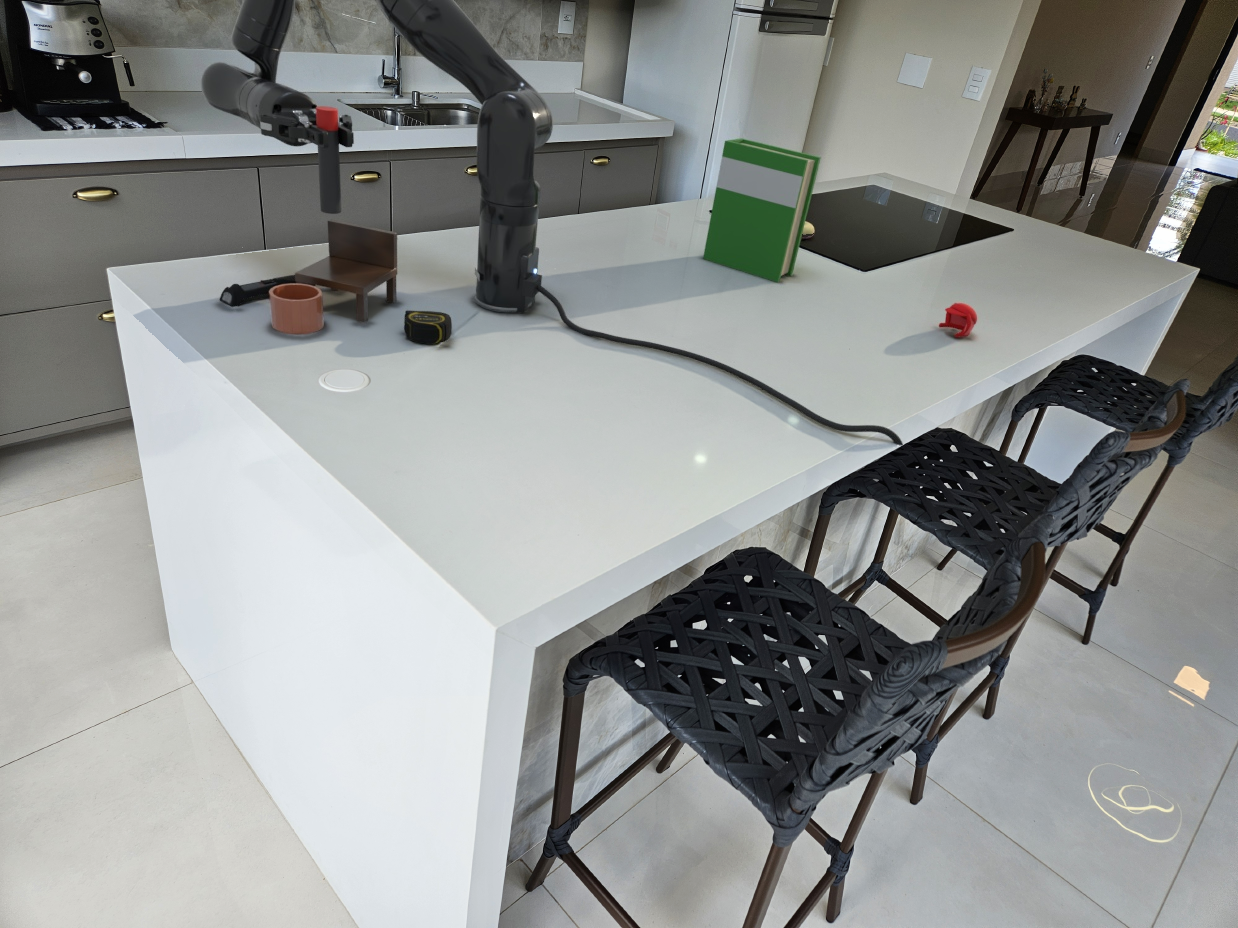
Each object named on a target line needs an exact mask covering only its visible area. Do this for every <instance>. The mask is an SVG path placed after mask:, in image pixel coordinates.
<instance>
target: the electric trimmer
mask: <svg viewBox="0 0 1238 928" xmlns="http://www.w3.org/2000/svg"><path fill="white" fill-rule="evenodd" d="M291 283H296V281H295V274H290V275H284V276H279V277H273V278H270V279H260V281H256V282H251V283H245V284H238V283H233V284H232V285H231V286H226V287H225V288H224V289H223V291H222V292H221V294H220V296H219V302H222V303H223V304H225V305H227V306H229V307H230V308H234V307H240V306H241V305H242V304H245V303H250V302H255V301H259V300H263V299H269V290H270V289H271V288H273V287H275V286H278V285H282V284H291ZM308 285H312V286H315V287H317V285H313V284H309V283H308Z"/></svg>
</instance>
